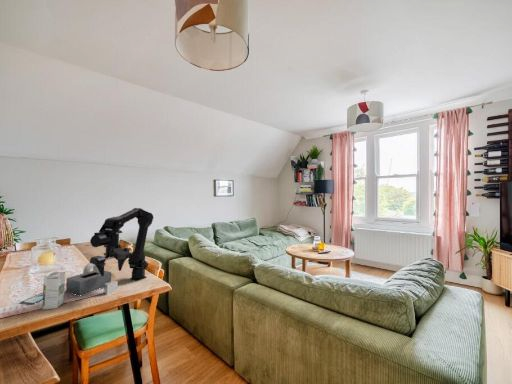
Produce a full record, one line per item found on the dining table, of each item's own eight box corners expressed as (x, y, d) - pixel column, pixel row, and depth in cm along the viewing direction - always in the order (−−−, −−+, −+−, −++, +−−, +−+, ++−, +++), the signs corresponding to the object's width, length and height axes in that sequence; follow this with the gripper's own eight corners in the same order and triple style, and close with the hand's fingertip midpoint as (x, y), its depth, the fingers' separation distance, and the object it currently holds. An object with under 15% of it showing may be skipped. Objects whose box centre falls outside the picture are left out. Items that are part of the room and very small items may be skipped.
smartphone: (18, 302, 107) (51, 288, 122) (18, 304, 107) (51, 290, 122) (32, 304, 106) (63, 289, 121) (32, 306, 106) (63, 291, 121)
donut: (86, 282, 133) (86, 264, 134) (81, 281, 134) (81, 263, 134) (100, 276, 143) (101, 259, 143) (96, 275, 144) (96, 259, 144)
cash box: (97, 281, 135) (98, 269, 135) (110, 285, 130) (111, 272, 130) (66, 291, 120) (66, 278, 120) (79, 296, 116) (79, 282, 116)
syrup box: (48, 304, 107) (49, 272, 107) (64, 302, 109) (65, 271, 109) (41, 310, 102) (42, 276, 102) (58, 308, 104) (59, 275, 104)
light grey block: (114, 289, 125) (114, 280, 125) (117, 290, 124) (117, 281, 124) (103, 293, 119) (104, 283, 119) (107, 294, 118) (107, 284, 118)
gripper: (104, 248, 110) (103, 282, 110) (139, 241, 127) (138, 270, 127) (89, 245, 114) (88, 278, 114) (124, 239, 131) (123, 267, 131)
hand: (111, 273), depth 122 cm, fingers open, 9 cm apart
